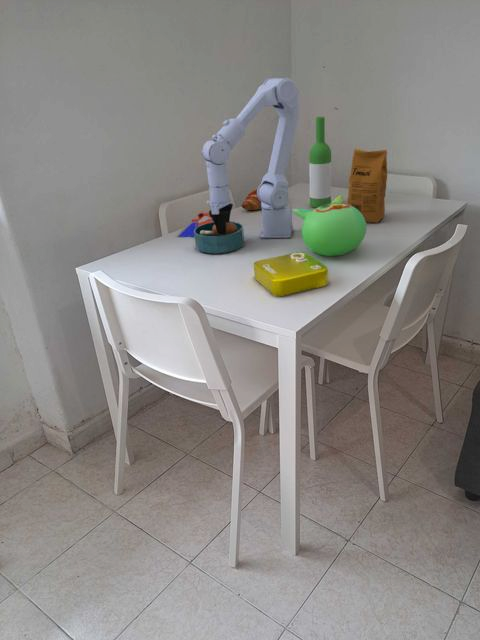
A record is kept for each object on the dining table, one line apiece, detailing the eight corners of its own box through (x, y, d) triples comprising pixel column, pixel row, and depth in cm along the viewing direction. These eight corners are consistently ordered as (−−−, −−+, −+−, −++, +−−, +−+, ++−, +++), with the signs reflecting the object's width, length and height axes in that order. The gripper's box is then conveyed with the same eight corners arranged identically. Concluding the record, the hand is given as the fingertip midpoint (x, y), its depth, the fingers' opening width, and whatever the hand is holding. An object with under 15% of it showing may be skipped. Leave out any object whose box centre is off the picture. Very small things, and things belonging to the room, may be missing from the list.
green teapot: (319, 268, 132) (319, 214, 124) (291, 250, 145) (289, 199, 137) (376, 255, 137) (379, 202, 130) (343, 238, 151) (345, 189, 143)
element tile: (252, 277, 130) (250, 260, 127) (303, 265, 134) (302, 248, 132) (276, 298, 118) (275, 280, 115) (330, 285, 122) (331, 266, 120)
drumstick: (238, 233, 151) (237, 220, 149) (236, 237, 148) (235, 224, 146) (202, 234, 153) (200, 221, 151) (198, 238, 150) (196, 225, 148)
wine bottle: (306, 207, 182) (304, 118, 167) (315, 202, 188) (315, 115, 172) (325, 209, 179) (325, 118, 163) (334, 203, 184) (335, 115, 169)
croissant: (273, 206, 198) (265, 187, 197) (291, 197, 191) (283, 177, 189) (238, 219, 184) (229, 199, 183) (256, 210, 177) (247, 189, 176)
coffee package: (354, 212, 173) (356, 145, 162) (388, 216, 167) (393, 147, 155) (342, 220, 166) (343, 151, 155) (377, 225, 160) (381, 153, 148)
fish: (195, 208, 171) (219, 208, 169) (197, 222, 173) (220, 222, 171) (183, 220, 160) (208, 219, 158) (185, 234, 162) (210, 234, 161)
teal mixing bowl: (248, 237, 157) (246, 220, 154) (239, 254, 145) (237, 236, 142) (203, 238, 160) (200, 221, 157) (190, 254, 147) (187, 237, 144)
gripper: (211, 179, 149) (216, 224, 156) (198, 192, 137) (204, 239, 144) (233, 179, 148) (237, 223, 155) (223, 191, 136) (228, 239, 143)
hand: (223, 231), depth 150 cm, fingers closed on drumstick, 4 cm apart
